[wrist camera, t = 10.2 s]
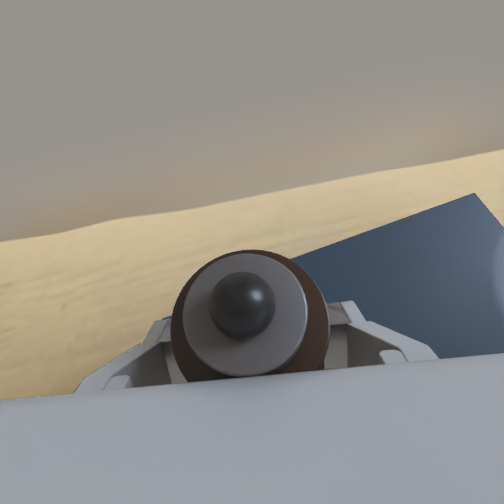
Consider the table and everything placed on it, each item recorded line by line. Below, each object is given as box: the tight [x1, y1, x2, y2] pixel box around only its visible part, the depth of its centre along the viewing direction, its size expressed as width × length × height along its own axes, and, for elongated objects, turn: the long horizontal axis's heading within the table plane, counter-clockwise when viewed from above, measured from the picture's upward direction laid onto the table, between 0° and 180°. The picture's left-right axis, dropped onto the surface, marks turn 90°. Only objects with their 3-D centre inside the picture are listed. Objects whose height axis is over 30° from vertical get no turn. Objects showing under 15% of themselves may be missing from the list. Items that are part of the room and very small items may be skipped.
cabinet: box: [290, 193, 504, 359], centre depth 25 cm, size 16×13×9 cm
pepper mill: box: [170, 250, 330, 383], centre depth 14 cm, size 5×5×15 cm
